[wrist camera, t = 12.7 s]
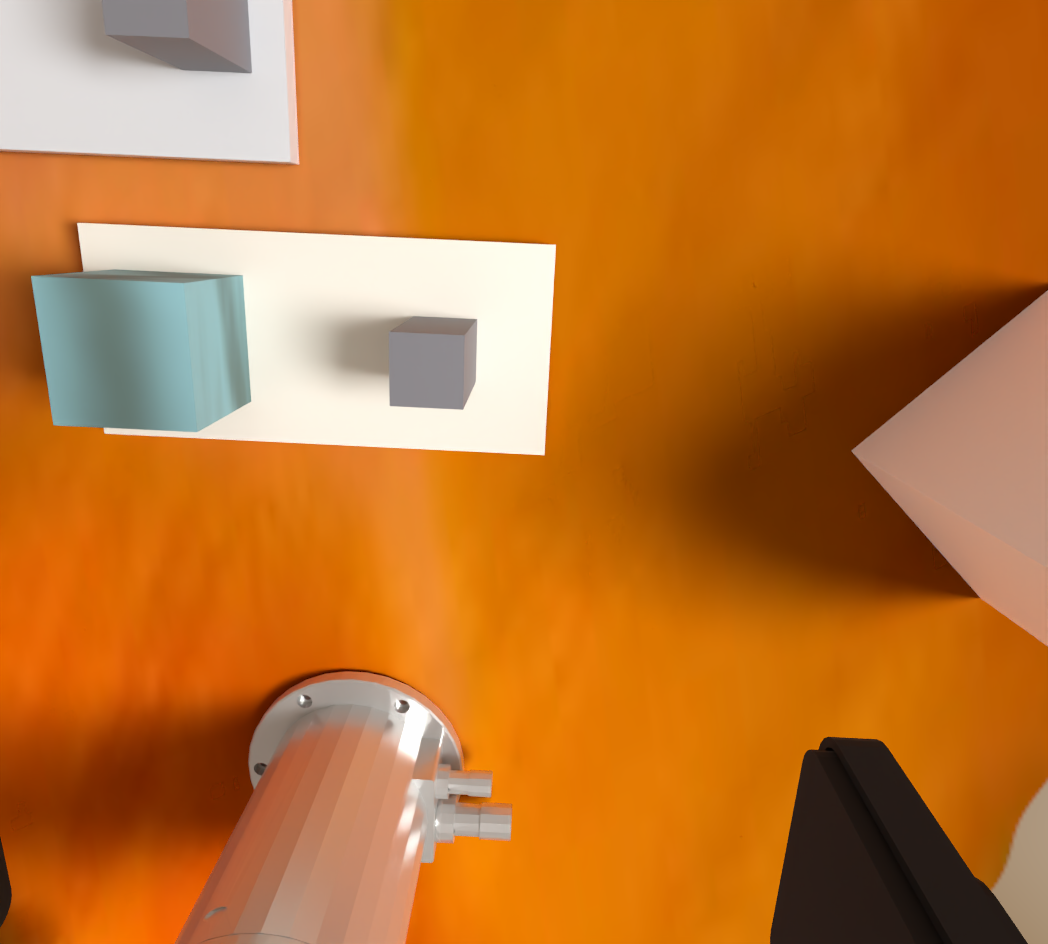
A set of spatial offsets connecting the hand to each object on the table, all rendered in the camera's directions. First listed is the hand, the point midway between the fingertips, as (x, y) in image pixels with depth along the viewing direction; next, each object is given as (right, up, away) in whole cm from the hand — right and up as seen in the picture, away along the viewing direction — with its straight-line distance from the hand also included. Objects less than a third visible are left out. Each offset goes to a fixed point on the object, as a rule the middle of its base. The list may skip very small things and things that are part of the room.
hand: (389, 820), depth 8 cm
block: (-15, +10, +27) cm, 33 cm away
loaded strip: (-8, +10, +28) cm, 31 cm away
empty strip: (-18, +23, +25) cm, 38 cm away
